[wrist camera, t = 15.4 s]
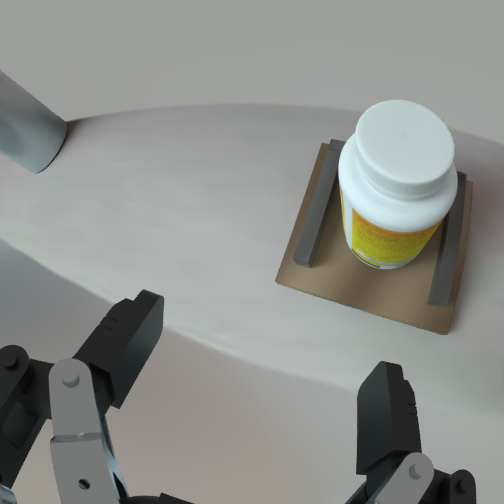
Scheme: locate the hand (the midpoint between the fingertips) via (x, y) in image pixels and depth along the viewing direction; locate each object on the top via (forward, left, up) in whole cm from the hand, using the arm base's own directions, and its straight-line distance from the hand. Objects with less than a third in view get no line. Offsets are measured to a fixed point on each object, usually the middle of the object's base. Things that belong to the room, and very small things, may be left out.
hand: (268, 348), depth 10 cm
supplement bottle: (+3, +9, -9) cm, 13 cm away
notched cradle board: (+3, +9, -10) cm, 14 cm away
